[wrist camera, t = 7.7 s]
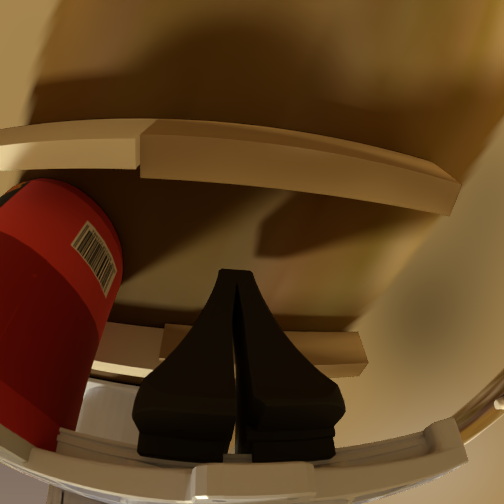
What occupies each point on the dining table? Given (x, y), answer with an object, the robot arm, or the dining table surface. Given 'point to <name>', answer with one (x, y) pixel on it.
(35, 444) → the canned food
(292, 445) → the robot arm
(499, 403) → the white creature statuette
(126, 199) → the dining table surface
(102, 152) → the open frame
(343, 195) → the rail channel
